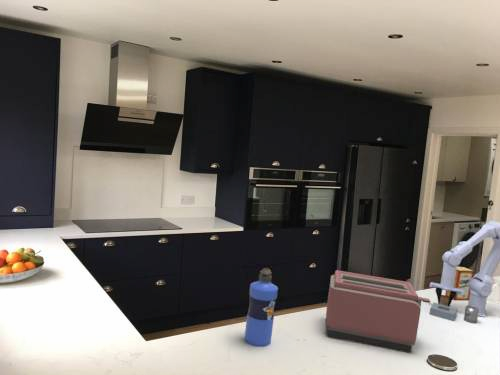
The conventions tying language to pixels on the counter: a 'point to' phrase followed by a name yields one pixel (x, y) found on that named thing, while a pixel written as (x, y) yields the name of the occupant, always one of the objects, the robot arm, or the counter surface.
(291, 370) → the counter surface
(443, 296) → the square peg
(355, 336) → the toaster
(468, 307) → the round peg
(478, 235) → the robot arm
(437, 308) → the socket block
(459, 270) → the baking soda box
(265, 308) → the water bottle
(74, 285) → the counter surface
